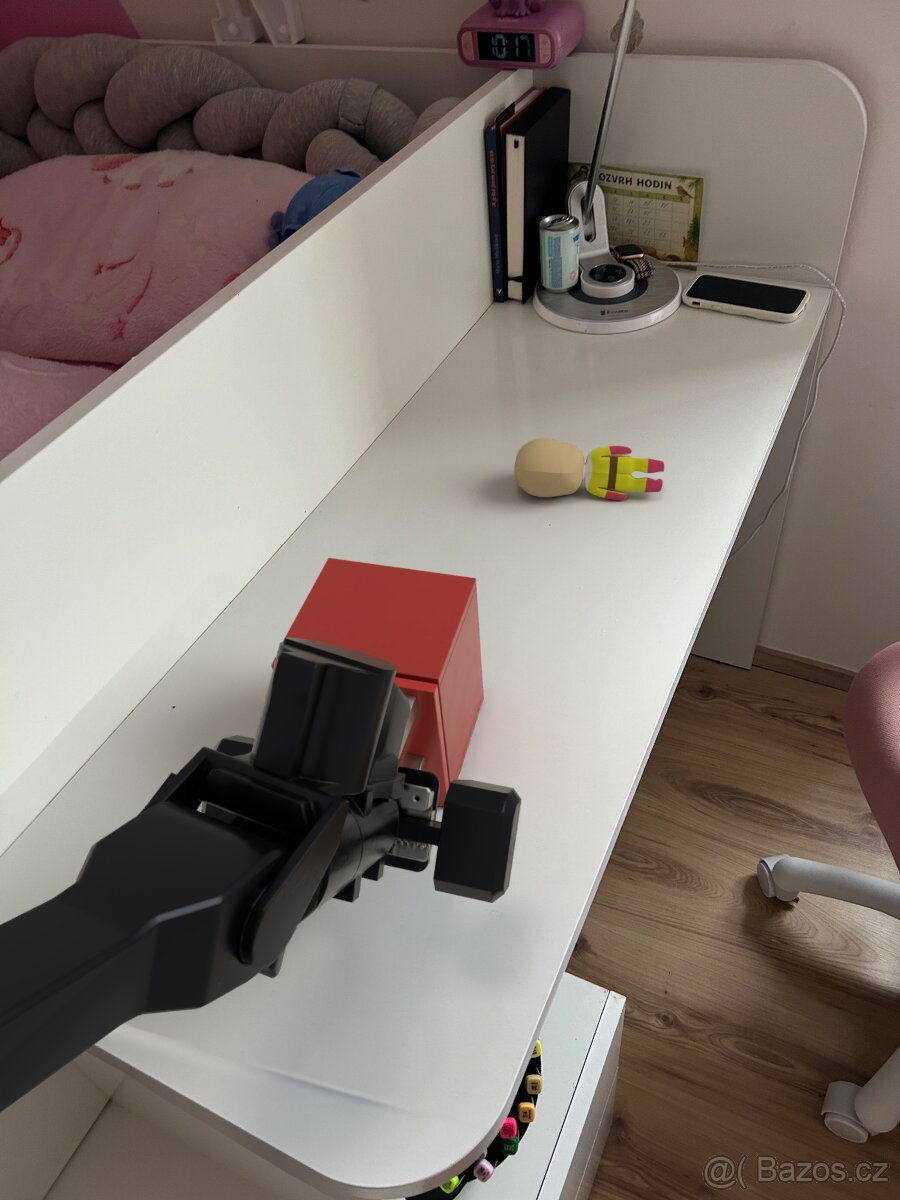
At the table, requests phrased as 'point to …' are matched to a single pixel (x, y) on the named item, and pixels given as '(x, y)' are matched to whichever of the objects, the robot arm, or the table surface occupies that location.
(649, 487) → the toy
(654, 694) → the table surface
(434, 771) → the red cabinet door
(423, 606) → the cabinet
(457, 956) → the table surface
